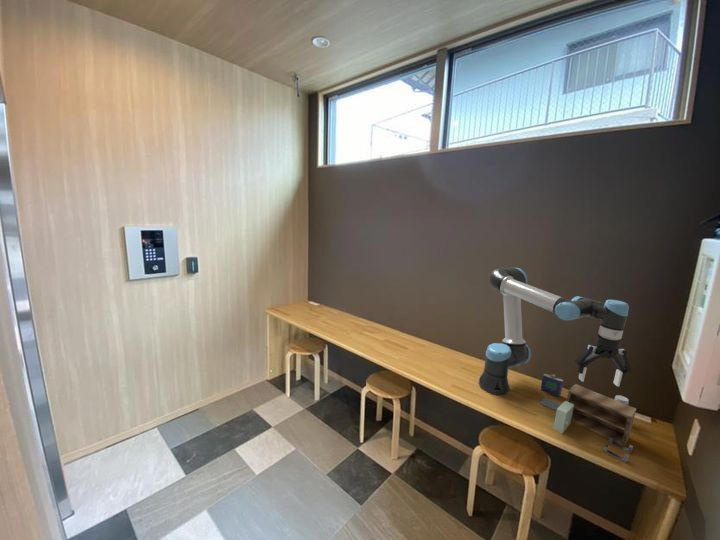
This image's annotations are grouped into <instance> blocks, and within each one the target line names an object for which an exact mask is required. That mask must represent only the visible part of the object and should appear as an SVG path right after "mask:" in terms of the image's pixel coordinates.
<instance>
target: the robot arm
mask: <svg viewBox="0 0 720 540" xmlns="http://www.w3.org/2000/svg"><path fill="white" fill-rule="evenodd" d="M488 284H489V286H490V287H491V288H492V289H493V290H495V291H497V292H499V293H500V294H501V295H502V296H503V316H504V317H503V319H504V321H503V322H504V338H503V339H502V340H501V341H502V343H500V342H499V343H498V342H494V343H493V342H492V343H491V344H488V346H487V348H486V351H485V359H484V368H483V372H481V375H480V377H479V379H478V385H479V387H480V388H481V389H483V390H484V391H486V392H487V393H488V394H489V393H490V394H492V395H497V396H503V395H507V394H508V393H509V392H510V384H509V379H508V375H509V369H511V368H514V367H518V366H521V365H522V366H523V365H524V364H527V363H528V362H529V361H530V359H531V357H532V351H531V348H530V347H529V345H528V344H527V341H526V340H525V339H524V338H523V319H522V300H523V301H525V302H527V303H529V304H530V303H531V304H533V305H535V306H537V307H540V308H542V309H545V310H546V311H549V312H551V313H554V314H555V315H556V316H557V318H558V319H560V320H561V321H575V320H578V319H582V318H586V317H587V318H592V319H594V320H598V321H599V320H600V324H599V325H600V326H599V329H598V335H597V338H596V341H595V343H596V344H595V346H594V345H591V344H587V345H586V347H585V349H584V350H583V351H582V353H580V355H579V356H578V357H577V358H576V359H575V360H574V362H575V364H576V365H577V366H578V369H577V371H578V379H579V380H580V381H581V382H583V383H584V382H585V377H586V374H587V369H588V368H587V366H588V365H590V364H591V363H593V362H594V361H596V360H597V359H601V358H603V359H609V360H610V359H612V361H613V363H614V364H615V365H616V367H617V368H618V369H616V370H615V375H614V379H613V384H614V385H615V386H616V387H620V385H621V381H622V380H623V379H624V377H625V374H627V373H628V372H629V373H630V372H632V367H631V366H630V362H629V358H628V356H627V353H628V351H627V350H625V349H624V348H622V347H621V348H620V346H621V342H622V341H621V340H622V337H623V333H624V330H625V325H626V322H627V318H628V316H629V311H630V310H629V308H630V306H629V305H630V304H628V302H624V301H622V300H617V299H607V300H605V302H602V301H599V300H594V299H591V298H588V297H585V296H583V297H582V296H578V295H577V296H574V297H572V299H571V300H570V299H567V298H564V297H562V296H559V295H556V294H554V293H551V292H549V291H546V290H544V289H541V288H538V287H535V286H533V285H531V284H528V275H527V274H526V272H525V271H523V269H521V268H519V267H503V268H496V269H494V270H492V271H491V272H490V273H489V276H488ZM618 354H619V357H620V359H621V362H620V360H619V358H618V357H617V356H616V355H618Z"/></svg>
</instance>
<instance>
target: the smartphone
mask: <svg viewBox="0 0 720 540" xmlns="http://www.w3.org/2000/svg"><path fill="white" fill-rule="evenodd" d="M539 404H540V405H541V406H544V407H546V408H547V409H550V410H553V411H555V412H556V411H557V408H558V407H559V406H560V405H561V404H562V403H559V402H557V401H554V400H552V399H549V398H547V397H543V399H541V401H540V402H539Z"/></svg>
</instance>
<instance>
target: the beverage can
mask: <svg viewBox="0 0 720 540" xmlns="http://www.w3.org/2000/svg"><path fill="white" fill-rule="evenodd" d="M613 399H614V400H616V401H619V402H621V403H624V404H626V405H629V404H630V403H629V402H630V401H629V398H627V397H626V396H623V395H619V394H615V397H614V398H613Z"/></svg>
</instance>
